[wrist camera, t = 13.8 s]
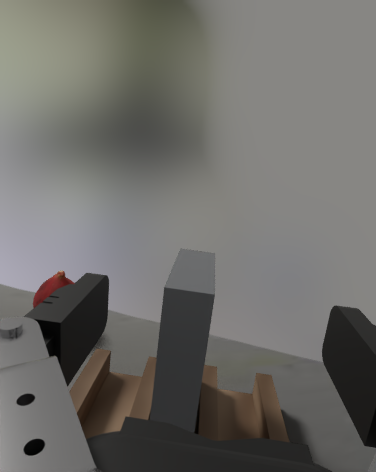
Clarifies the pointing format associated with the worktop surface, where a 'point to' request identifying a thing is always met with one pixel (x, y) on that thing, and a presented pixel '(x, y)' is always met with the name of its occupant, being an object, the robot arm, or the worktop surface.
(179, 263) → the panel
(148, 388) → the rack
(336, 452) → the worktop surface
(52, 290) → the onion
